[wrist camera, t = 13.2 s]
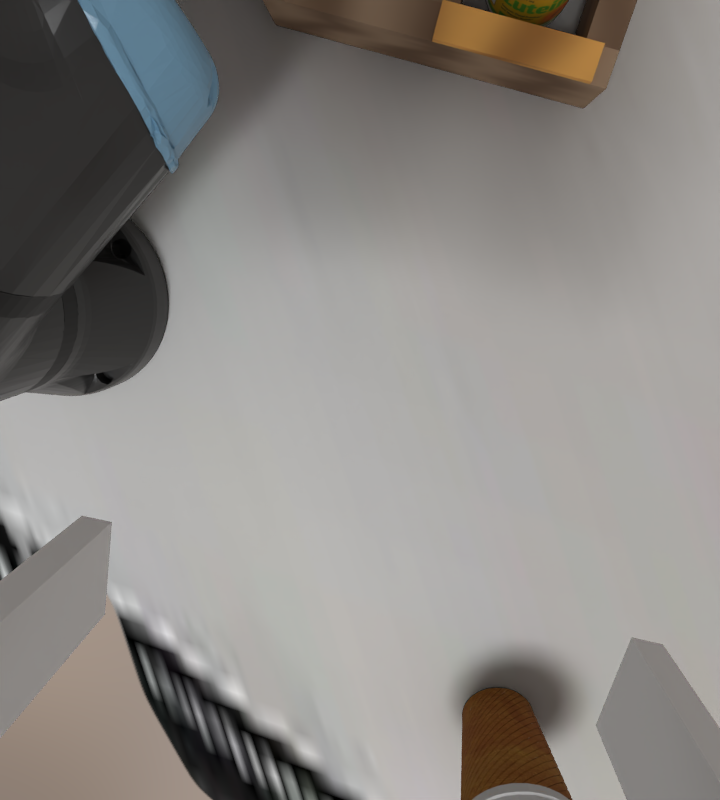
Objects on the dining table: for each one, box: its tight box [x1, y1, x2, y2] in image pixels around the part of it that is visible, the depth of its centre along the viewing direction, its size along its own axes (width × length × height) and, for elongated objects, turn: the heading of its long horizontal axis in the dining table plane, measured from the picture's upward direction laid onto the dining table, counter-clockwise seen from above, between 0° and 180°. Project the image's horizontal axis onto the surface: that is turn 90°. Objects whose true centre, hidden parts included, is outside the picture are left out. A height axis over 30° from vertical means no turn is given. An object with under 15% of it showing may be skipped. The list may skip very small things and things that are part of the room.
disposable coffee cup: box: [461, 688, 572, 800], centre depth 41 cm, size 10×10×12 cm
